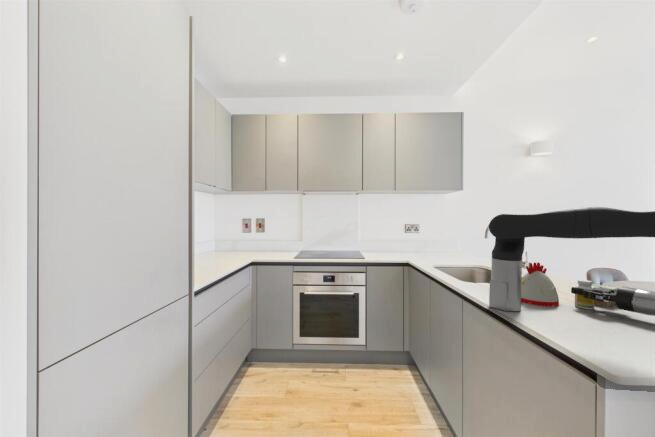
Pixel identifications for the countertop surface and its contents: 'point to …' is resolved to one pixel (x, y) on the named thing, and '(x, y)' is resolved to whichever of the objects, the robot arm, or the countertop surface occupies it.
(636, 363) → the countertop surface
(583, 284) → the supplement bottle
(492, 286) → the robot arm
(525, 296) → the grey and red dome
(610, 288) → the stand
